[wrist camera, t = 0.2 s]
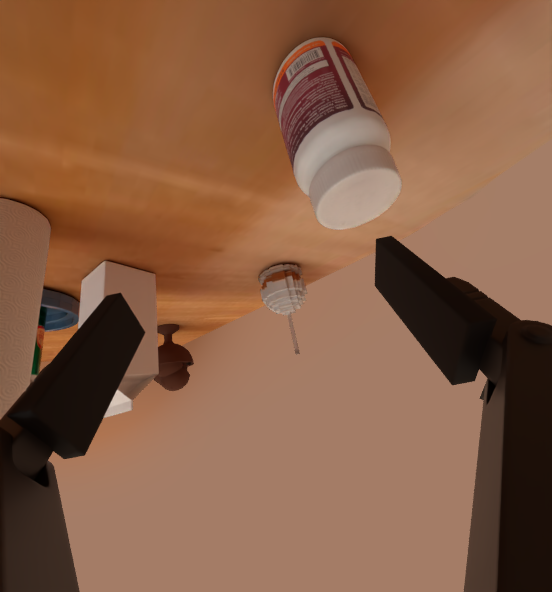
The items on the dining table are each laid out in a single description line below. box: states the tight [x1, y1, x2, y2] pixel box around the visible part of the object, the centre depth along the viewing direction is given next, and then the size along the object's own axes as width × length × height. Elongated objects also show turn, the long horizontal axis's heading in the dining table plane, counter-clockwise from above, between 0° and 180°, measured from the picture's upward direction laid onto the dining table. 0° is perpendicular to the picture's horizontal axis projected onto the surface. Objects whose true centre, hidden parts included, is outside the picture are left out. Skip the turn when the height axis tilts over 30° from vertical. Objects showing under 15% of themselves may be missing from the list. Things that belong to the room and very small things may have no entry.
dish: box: [41, 289, 80, 332], centre depth 40 cm, size 13×13×3 cm
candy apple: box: [258, 264, 307, 354], centre depth 45 cm, size 8×8×15 cm
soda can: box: [30, 306, 47, 384], centre depth 38 cm, size 5×5×12 cm
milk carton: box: [78, 261, 159, 418], centre depth 36 cm, size 7×7×19 cm
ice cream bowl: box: [154, 324, 194, 391], centre depth 62 cm, size 11×11×15 cm
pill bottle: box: [273, 37, 402, 230], centre depth 18 cm, size 6×6×11 cm
